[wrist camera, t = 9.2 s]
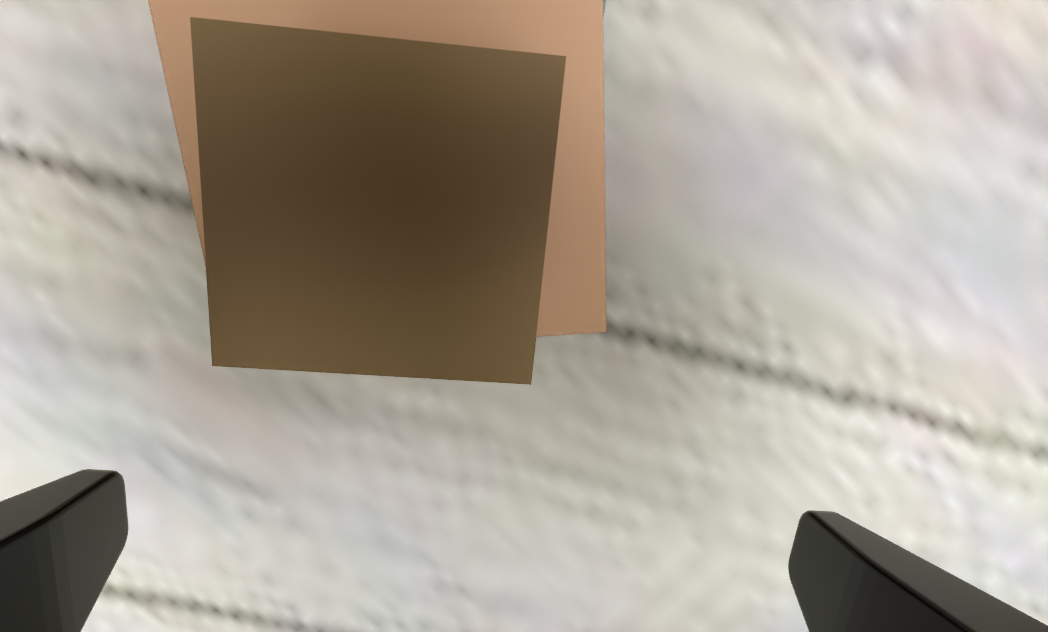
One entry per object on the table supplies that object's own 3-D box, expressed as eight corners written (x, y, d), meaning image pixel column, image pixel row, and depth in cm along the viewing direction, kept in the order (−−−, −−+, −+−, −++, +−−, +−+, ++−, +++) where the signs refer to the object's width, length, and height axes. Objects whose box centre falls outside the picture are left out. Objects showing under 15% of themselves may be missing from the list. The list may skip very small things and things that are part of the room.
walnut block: (514, 291, 16) (531, 384, 11) (295, 276, 15) (211, 366, 10) (536, 63, 14) (565, 56, 9) (290, 38, 13) (190, 17, 9)
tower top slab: (587, 294, 19) (606, 331, 16) (264, 316, 18) (225, 359, 16) (579, -66, 16) (601, -99, 13) (194, -49, 15) (131, -78, 13)
